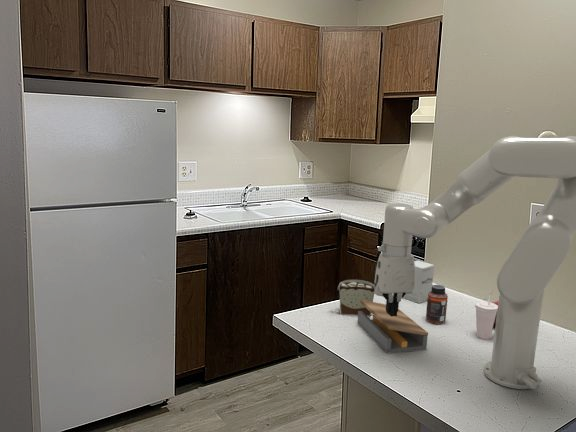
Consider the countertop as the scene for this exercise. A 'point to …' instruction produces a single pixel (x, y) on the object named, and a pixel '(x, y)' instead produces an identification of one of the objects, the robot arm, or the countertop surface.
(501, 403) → the countertop surface
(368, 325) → the bar
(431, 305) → the supplement bottle
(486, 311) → the smoothie
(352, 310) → the food container
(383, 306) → the lid
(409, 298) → the supplement box
